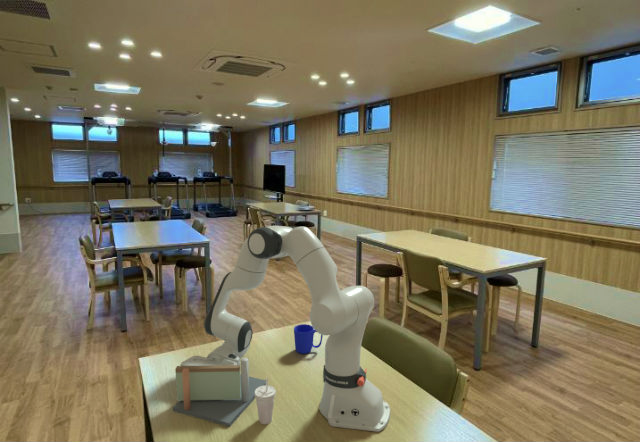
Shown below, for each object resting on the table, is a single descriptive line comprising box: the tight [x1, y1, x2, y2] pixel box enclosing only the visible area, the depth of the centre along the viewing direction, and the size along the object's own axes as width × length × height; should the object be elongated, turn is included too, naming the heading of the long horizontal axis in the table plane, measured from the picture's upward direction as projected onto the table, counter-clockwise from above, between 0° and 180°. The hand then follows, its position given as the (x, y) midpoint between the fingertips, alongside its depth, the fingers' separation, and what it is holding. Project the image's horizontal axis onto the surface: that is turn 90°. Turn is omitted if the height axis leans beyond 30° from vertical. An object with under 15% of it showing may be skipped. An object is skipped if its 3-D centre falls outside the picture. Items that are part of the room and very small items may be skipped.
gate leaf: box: [175, 364, 241, 402], centre depth 123 cm, size 20×2×11 cm, turn 93°
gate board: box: [172, 357, 266, 428], centre depth 127 cm, size 21×24×15 cm
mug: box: [293, 323, 324, 355], centre depth 159 cm, size 8×12×10 cm
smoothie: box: [254, 377, 277, 425], centre depth 116 cm, size 6×6×14 cm
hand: (194, 381), depth 125 cm, fingers closed
